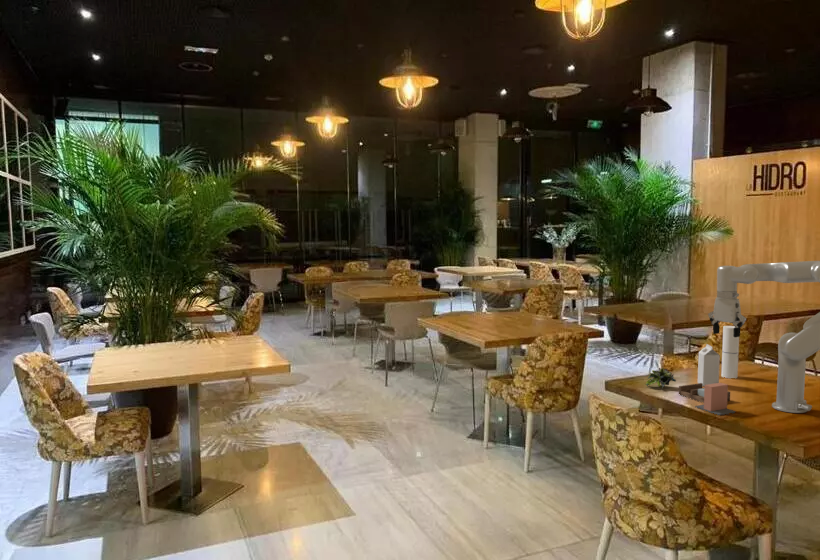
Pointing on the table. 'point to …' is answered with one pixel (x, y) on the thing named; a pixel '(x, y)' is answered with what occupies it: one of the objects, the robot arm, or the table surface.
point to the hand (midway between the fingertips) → (726, 335)
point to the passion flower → (660, 377)
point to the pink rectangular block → (715, 396)
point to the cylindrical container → (730, 353)
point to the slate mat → (718, 412)
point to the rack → (694, 392)
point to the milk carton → (708, 366)
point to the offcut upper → (701, 392)
